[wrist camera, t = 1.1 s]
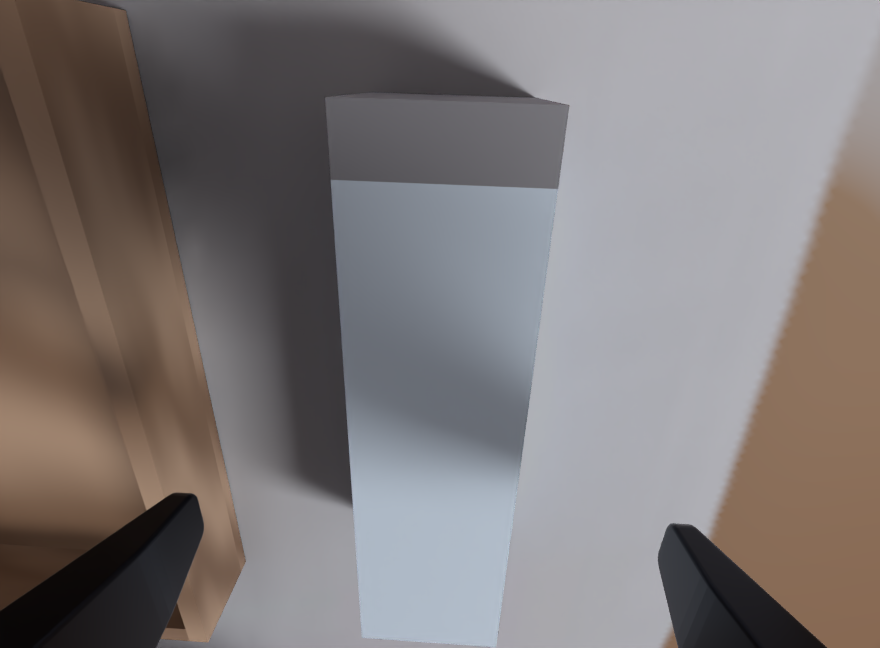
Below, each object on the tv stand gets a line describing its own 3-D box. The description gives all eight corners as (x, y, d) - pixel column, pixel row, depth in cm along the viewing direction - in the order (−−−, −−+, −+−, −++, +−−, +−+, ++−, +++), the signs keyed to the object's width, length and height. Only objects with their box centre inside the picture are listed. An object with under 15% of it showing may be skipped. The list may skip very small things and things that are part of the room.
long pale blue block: (489, 525, 17) (495, 647, 13) (384, 518, 17) (361, 637, 13) (535, 97, 11) (569, 104, 7) (372, 92, 11) (325, 96, 7)
